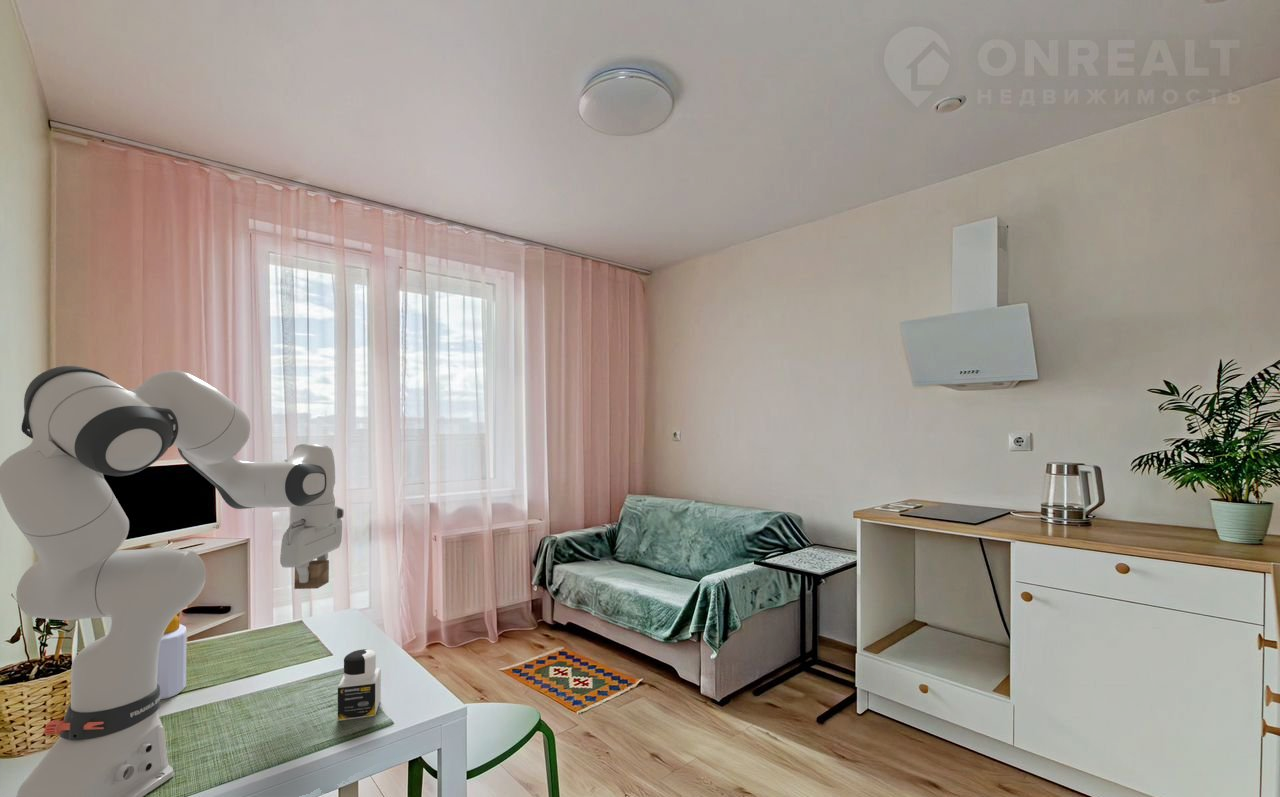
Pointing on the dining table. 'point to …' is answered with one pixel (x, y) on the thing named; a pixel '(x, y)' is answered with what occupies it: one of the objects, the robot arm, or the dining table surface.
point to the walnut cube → (314, 575)
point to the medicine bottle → (359, 686)
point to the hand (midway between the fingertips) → (312, 578)
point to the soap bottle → (172, 659)
